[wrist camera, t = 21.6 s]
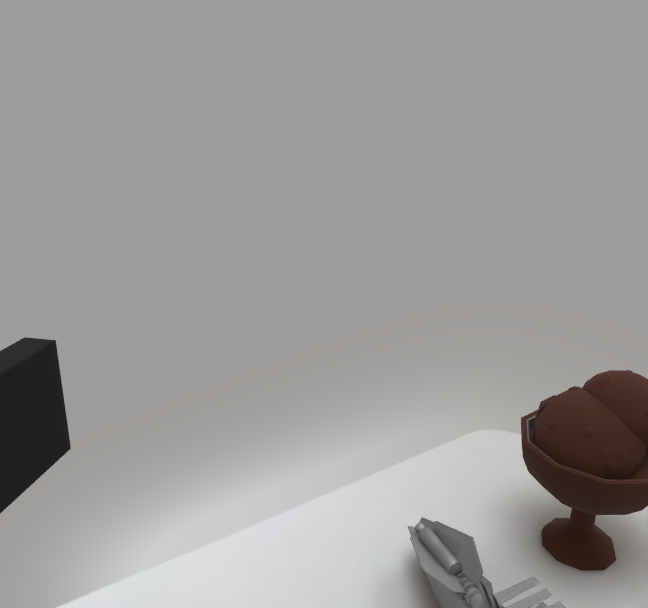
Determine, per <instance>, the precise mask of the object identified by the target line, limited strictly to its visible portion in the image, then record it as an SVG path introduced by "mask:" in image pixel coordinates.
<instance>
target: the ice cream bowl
mask: <svg viewBox="0 0 648 608" xmlns="http://www.w3.org/2000/svg"><path fill="white" fill-rule="evenodd" d="M521 429H522V430H521V432H522V433H521V434H522V450H523V458H524V461H525V464H526V466H527V469H528V471H529V473H530V474H531V475H532V476H533V477H534V478H535V479H536V480H537V481H538V482H539V483H540V484H541V485H542V486H543V487H544V488H545V489H546V490H547V491H548V492H550V493H551V494H552V495H553V496H554V497H555V498H556V499H558V500H559V501H560V502H561V503H563V504H565V505H567V506H569V507H571V508H572V511H571V516H570V518H556V519H554V520H553V521H551V522H550V523H549V524H547V525H546V526H544V528H543V530H542V543H543V546H544V547H545V548H546V549H547V550H548V551H549V552H550V553H551V554H552V555H553V556H554V557H555V558H556V559H557V560H558V561H561V562H563V563H565V564H568V565H570V566H573V567H575V568H578V569H580V570H605V569H606V568H607V567H608V566H609V565H611V564H612V563H613V562H614V561H615V560H616V557H615V551H614V547H613V543H612V539H611V538H610V537H609V536H608V535H606V534H605V533H604V532H603V531H602V530H601V529H600V528H598V527H597V526H596V525H594V522H595V516H596V515H627V514H630V513H634V512H637V511H641V510H643V509H644V508H645V507H647V506H648V379H647V378H645V377H643V376H641V375H639V374H636V373H633V372H632V371H629V370H627V371H607V372H604V373H600V374H597V375H596V376H594V377H592V378H591V379H590V380H588V381H587V382H586V383H585V385H584V386H583V388H580V387H576V386H574V387H571V388H569V389H568V390H567V391H565V392H563V393H561V394H559V395H557V396H552V397H550V398H548V399H546V400H544V401H541V403H540V406H539V409H538V410H537V411H534V412H533V413H530V414H528V415H526V416H524V417H522V418H521Z"/></svg>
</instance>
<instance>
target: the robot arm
mask: <svg viewBox="0 0 648 608" xmlns="http://www.w3.org/2000/svg"><path fill="white" fill-rule="evenodd" d="M70 448H71V447H70V440H69V433H68V426H67V418H66V411H65V404H64V397H63V390H62V383H61V376H60V369H59V362H58V355H57V347H56V341H55V340H45V339H35V338H23V339H21V340H19V341H18V342H16V343H14V344H12V345H10V346H9V347H7V348H5V349H3V350H2V351H0V513H1V512H2V511H3V510H4V509H5V508H6V507H8V506H9V505H10V504H11V503H12V502H13V501H14V500H15V499H16V498H17V497H18V496H19V495H21V494H22V493H23V492H24V491H25V490H26V489H27V488H28V487H29V486H30V485H31V484H33V483H34V482H35V481H36V480H37V479H38V478H39V477H40V476H41V475H42V474H44V473H45V472H46V471H47V470H48V469H49V468H50V467H51V466H52V465H53V464H54V463H55V462H56V461H58V460H59V458H61V457H62V456H63V455H64V454H65V453H66V452H67V451H68V450H69V449H70Z"/></svg>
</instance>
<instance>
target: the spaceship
mask: <svg viewBox="0 0 648 608" xmlns="http://www.w3.org/2000/svg"><path fill="white" fill-rule="evenodd" d="M408 529H409V532H410V534H411V537H410V539H411V542H412V544H413V547H414V549H415V552H416V555H417V557H418V560H419V562H420V565H421V568H422V570H423V571H424V572H425V573H426V576H427V578H428V581H429V583H430V585H431V588H432V590H433V593H434V595H435V598H436V600H437V603H438V605H439V607H440V608H504V606H503V605H502V606H501V605H500V604H502V603H504V602H506V601H508V600H509V599H511V598H513V597H515V596H517V595H519V594H520V593H522V592H524V591H526V590H528V589H530V588H532V587H533V586H535V585H537V584H539V583H540V582H539V581H538V580H537V579H536V578H534V577H532V578H530V579H528V580H526V581H523V582H521V583H519V584H517V585H515V586H512V587H510V588H508V589H506V590H504V591H501V592H499V593H497V594H495V595H493V590H492V584H491V582H490V581H488V580H487V579H486V578H485V577H483V576H482V574H483V570H482V567H481V563H480V560H479V556H478V553H477V549H476V546H475V542H474V539H473V537H471V536H468V535H466V534H464V533H462V532H460V531H457V530H455V529H453V528H451V527H448V526H446V525H444V524H442V523H440V522H437V521H435V522H432V521H430V520H428V519H425V518H423V517H422V518H421V520H420V523H418V524H417V525H416V526H415V528H414V527H411V526H408ZM550 596H552V594H551V593H550V592H549V591H548V590H547V589H544V590H542V591H540V592H538V593H536V594H534V595H531V596H529V597H527V598H525V599H523V600H520V601H518V602H516V603H514V604H512V605H510V606H507V607H505V608H530V607H532V606H534V605H536V604H538V603H539V602H541V601H543V600H545V599H547V598H548V597H550ZM536 608H565V607H564V606H563V605H562V604H561V603H560V602H557V603H555V604H553V605H550V606H547V605H546V604H545V603H544V602H542V603H540V604H539V605H538V606H537V607H536Z"/></svg>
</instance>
